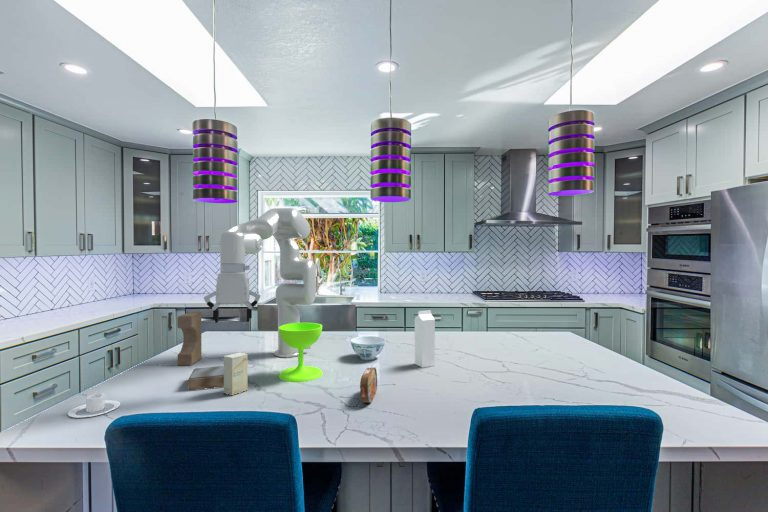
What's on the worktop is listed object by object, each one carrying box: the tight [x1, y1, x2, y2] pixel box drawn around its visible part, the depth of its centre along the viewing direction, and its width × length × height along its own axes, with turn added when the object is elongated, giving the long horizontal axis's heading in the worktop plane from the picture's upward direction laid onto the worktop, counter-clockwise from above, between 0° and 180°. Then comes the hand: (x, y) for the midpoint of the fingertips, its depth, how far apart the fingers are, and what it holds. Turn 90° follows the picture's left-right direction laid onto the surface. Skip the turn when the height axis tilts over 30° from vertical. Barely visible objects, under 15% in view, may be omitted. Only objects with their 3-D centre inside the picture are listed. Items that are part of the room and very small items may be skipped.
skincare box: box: [223, 352, 249, 396], centre depth 123 cm, size 6×4×12 cm
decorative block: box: [176, 311, 202, 367], centre depth 157 cm, size 11×6×20 cm, turn 5°
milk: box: [414, 309, 436, 368], centre depth 153 cm, size 6×6×22 cm
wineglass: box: [278, 322, 323, 383], centre depth 141 cm, size 16×16×18 cm
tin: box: [359, 367, 378, 404], centre depth 119 cm, size 15×3×8 cm, turn 171°
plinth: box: [187, 365, 224, 391], centre depth 132 cm, size 12×12×4 cm
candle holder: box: [67, 392, 121, 419], centre depth 110 cm, size 12×12×4 cm
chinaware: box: [350, 335, 386, 361], centre depth 163 cm, size 15×15×8 cm
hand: (232, 321), depth 124 cm, fingers open, 9 cm apart
